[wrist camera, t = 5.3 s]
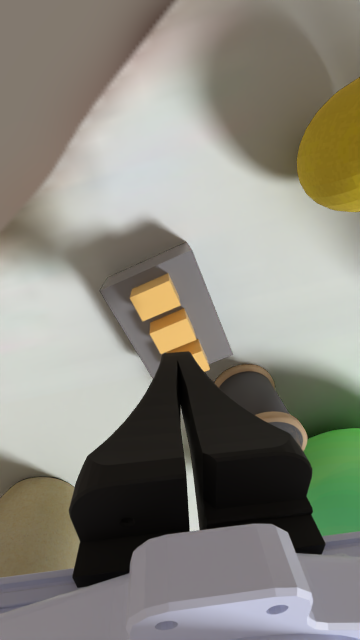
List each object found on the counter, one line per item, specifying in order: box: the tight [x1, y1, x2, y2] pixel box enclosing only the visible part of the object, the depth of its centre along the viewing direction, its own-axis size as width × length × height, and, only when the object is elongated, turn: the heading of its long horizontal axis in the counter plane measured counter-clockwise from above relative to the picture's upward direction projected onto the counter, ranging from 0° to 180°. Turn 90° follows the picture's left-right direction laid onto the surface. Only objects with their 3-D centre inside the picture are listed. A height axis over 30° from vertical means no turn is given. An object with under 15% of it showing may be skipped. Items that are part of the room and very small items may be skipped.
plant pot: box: [0, 477, 80, 578], centre depth 20 cm, size 15×15×16 cm
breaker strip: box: [100, 242, 233, 378], centre depth 17 cm, size 8×6×4 cm
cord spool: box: [214, 364, 307, 451], centre depth 21 cm, size 6×6×6 cm
